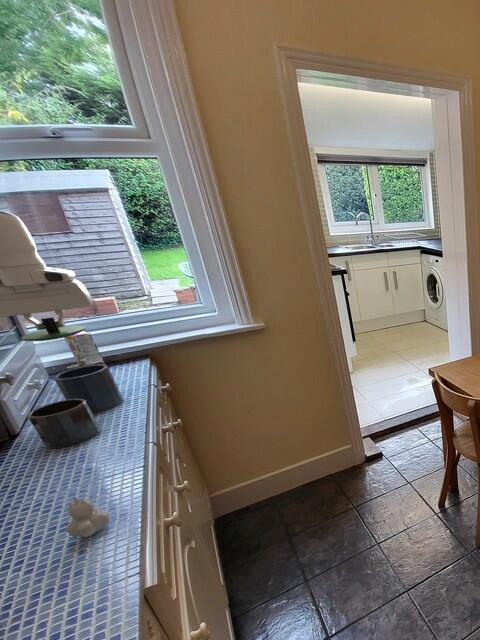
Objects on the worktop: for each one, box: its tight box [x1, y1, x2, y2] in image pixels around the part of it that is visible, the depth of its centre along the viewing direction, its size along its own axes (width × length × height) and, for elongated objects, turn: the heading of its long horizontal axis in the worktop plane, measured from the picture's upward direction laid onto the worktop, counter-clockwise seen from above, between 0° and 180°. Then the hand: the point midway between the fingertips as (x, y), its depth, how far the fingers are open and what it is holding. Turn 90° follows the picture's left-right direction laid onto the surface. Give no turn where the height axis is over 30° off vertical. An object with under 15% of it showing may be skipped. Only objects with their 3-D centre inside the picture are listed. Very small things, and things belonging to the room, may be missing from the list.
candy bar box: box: [63, 330, 107, 366], centre depth 147 cm, size 11×5×16 cm, turn 59°
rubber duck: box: [66, 495, 110, 538], centre depth 73 cm, size 5×7×8 cm
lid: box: [20, 316, 87, 342], centre depth 112 cm, size 12×12×5 cm
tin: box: [53, 365, 124, 415], centre depth 123 cm, size 11×11×12 cm
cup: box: [26, 399, 101, 450], centre depth 106 cm, size 10×10×9 cm
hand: (52, 328), depth 112 cm, fingers closed on lid, 2 cm apart
